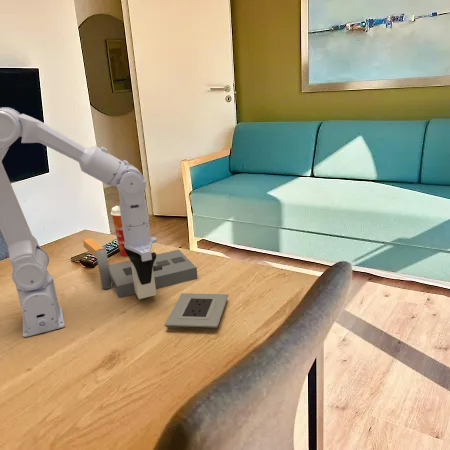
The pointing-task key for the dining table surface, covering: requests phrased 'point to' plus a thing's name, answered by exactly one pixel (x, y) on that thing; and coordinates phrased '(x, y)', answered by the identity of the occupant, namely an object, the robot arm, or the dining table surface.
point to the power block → (170, 274)
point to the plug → (145, 289)
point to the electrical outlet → (197, 311)
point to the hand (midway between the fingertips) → (143, 279)
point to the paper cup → (119, 229)
